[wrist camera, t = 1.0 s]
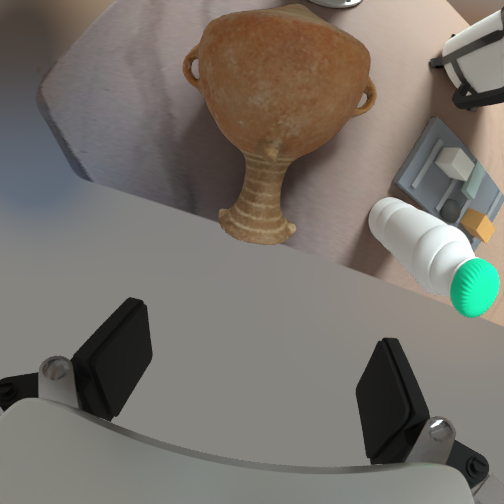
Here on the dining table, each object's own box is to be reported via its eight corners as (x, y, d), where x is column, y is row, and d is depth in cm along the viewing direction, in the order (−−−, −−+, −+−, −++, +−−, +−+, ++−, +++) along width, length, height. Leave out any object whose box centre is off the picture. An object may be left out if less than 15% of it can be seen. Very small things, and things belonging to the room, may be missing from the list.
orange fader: (468, 207, 33) (485, 214, 29) (479, 220, 33) (495, 228, 29) (459, 222, 34) (476, 230, 30) (470, 234, 35) (486, 243, 30)
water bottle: (403, 192, 37) (514, 242, 13) (410, 235, 39) (505, 317, 15) (363, 202, 38) (451, 266, 15) (371, 245, 40) (445, 344, 17)
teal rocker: (472, 161, 30) (477, 160, 29) (479, 170, 30) (484, 169, 29) (460, 190, 31) (466, 190, 30) (468, 199, 31) (474, 199, 30)
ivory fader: (443, 147, 31) (460, 147, 26) (457, 162, 31) (475, 165, 27) (434, 162, 32) (451, 164, 27) (449, 177, 32) (466, 181, 28)
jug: (409, 30, 19) (364, 261, 33) (307, 38, 33) (281, 207, 47) (260, -57, 9) (215, 295, 23) (186, 8, 24) (165, 215, 37)
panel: (430, 118, 32) (441, 115, 29) (497, 195, 33) (509, 199, 30) (392, 180, 36) (401, 183, 33) (464, 251, 38) (474, 258, 35)
